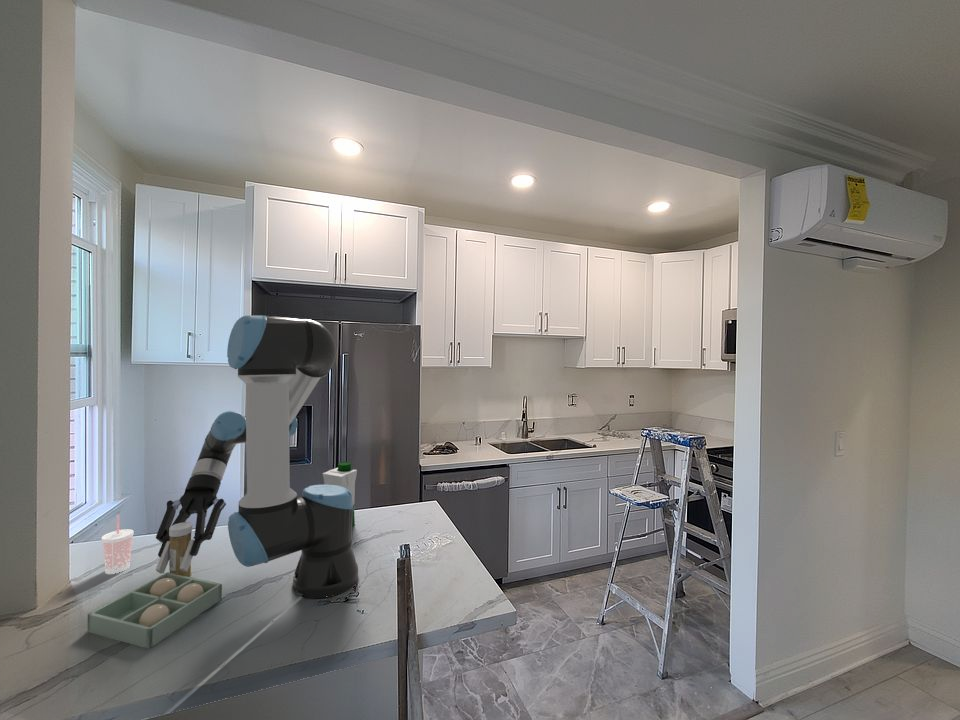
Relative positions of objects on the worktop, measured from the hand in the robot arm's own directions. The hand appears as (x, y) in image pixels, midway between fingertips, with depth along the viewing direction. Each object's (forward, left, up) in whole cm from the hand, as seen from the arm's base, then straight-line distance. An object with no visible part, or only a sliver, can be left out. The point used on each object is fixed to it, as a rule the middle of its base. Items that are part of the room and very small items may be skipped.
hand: (171, 570), depth 96 cm
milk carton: (-17, -41, -4) cm, 45 cm away
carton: (-7, +9, -4) cm, 12 cm away
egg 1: (-4, +5, -4) cm, 7 cm away
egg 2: (-11, +12, -4) cm, 17 cm away
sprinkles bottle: (+2, -3, -4) cm, 6 cm away
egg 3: (-11, +5, -4) cm, 13 cm away
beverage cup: (+21, -2, -4) cm, 21 cm away
